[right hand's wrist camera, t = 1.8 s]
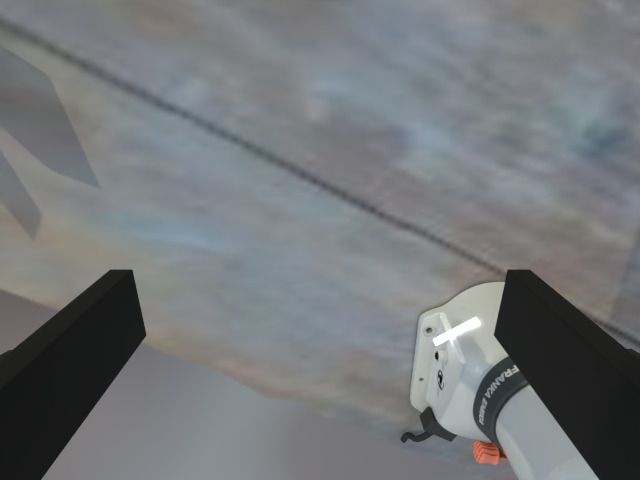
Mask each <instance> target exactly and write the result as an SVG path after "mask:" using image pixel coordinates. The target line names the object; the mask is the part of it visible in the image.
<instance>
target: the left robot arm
mask: <svg viewBox="0 0 640 480" xmlns="http://www.w3.org/2000/svg"><path fill="white" fill-rule="evenodd" d="M504 285H505V282H489V283H484V284H480V285H477V286H474V287H471V288H469V289H467V290H465V291H463V292H462V293H460V294H458V295H457V296H456V297H454V298H453V299H452V300H450V301H449V302H448V303H446V304H445V305H443V306H440V307H437V308H434V309H431V310H429V311H426V312H425V313H423V314H422V315H421V316H420V318H419V322H418V331H417V339H416V347H415V356H414V364H413V372H412V380H411V389H410V401H411V404H412V405H413V406H414V407H415V408H416V409H417V410H419V411H421V412H422V414H421V415H420V419H421V422H422V425H423V428H424V431H426V432H425V433H423V434H421V435H418V436H415V435H413V434H412V433H405V434H404V435H403V436H402V438H401V441H402V442H403V443H405V442H406V440H407V439H408V438H409V439H411V440H412V441H415V442H420V441H423V440H425V439H427V438H429V437H430V436H432V435H433V434H434V435H436V436H439V437H441V438H444V439H446V440H448V441H452V440H453V439H454V438H455V437H456V436H457V435H459V436H462V437H466V438H470V439H476V440H483V441H491V442H492V443H485V442H482V441H476V442H475V443H474V447H473V450H474V455H475V459H476V461H477V462H479V463H491V464H493V465H497V464H498V463H499V460H500V459H502V460H509V462H510V464H511V466H512V468H513V470H514V472H515V474H516V476H517V478H518V480H599V479H598V478H597V476H596V475H595V473H594V472H593V471H592V469H591V468H590V467H589V465H588V464H587V462H586V461H585V460H584V458H583V457H582V456H581V454H580V453H579V452H578V450H577V449H576V447H575V446H574V445H573V443H572V442H571V441H570V439H569V438H568V436H567V435H566V434H565V432H564V431H563V430H562V428H561V427H560V426H559V424H558V423H557V421H556V420H555V419H554V417H553V416H552V415H551V413H550V412H549V410H548V409H547V408H546V406H545V405H544V404H543V402H542V401H541V399H540V398H539V397H538V395H537V394H536V393H535V391H534V390H533V389H532V387H531V386H530V384H529V383H528V382H527V380H526V379H525V378H524V376H523V375H522V373H521V372H520V371H519V369H518V368H517V367H516V365H515V364H514V362H513V361H512V360H511V358H510V357H509V356H508V354H507V353H506V352H505V350H504V349H503V347H502V346H501V345H500V343H499V342H498V341H497V339H496V338H495V336H494V331H495V326H496V322H497V317H498V312H499V308H500V303H501V299H502V294H503V289H504ZM427 328H431V329H429V330H426V329H427Z"/></svg>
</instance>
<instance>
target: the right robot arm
mask: <svg viewBox="0 0 640 480" xmlns="http://www.w3.org/2000/svg"><path fill="white" fill-rule="evenodd" d="M145 336H146V331H145V326H144V322H143V317H142V312H141V308H140V303H139V299H138V294H137V289H136V285H135V280H134V275H133V271H132V270H109V271H108V272H107V273H106V274H105V275H103V276H102V277H101V278H100V279H98V280H97V281H96V282H95V283H94V284H92V285H91V286H90V287H89V288H87V289H86V290H85V291H84V292H83V293H81V294H80V295H79V296H78V297H77V298H75V299H74V300H73V301H72V302H70V303H69V304H68V305H67V306H66V307H64V308H63V309H62V310H61V311H60V312H58V313H57V314H56V315H55V316H53V317H52V318H51V319H50V320H49V321H47V322H46V323H45V324H44V325H42V326H41V327H40V328H39V329H38V330H36V331H35V332H34V333H33V334H32V335H30V336H29V337H28V338H27V339H25V340H24V341H23V342H22V343H21V344H19V345H18V346H17V347H16V348H14V349H13V350H9V351H7V352H5V353H3V354H2V355H0V480H41V479H42V478H43V476H44V475H45V473H46V472H47V471H48V469H49V468H50V467H51V465H52V464H53V462H54V461H55V460H56V458H57V457H58V456H59V454H60V453H61V452H62V450H63V449H64V447H65V446H66V445H67V443H68V442H69V441H70V439H71V438H72V436H73V435H74V434H75V432H76V431H77V430H78V428H79V427H80V425H81V424H82V423H83V421H84V420H85V419H86V417H87V416H88V414H89V413H90V412H91V410H92V409H93V408H94V406H95V405H96V404H97V402H98V401H99V399H100V398H101V397H102V395H103V394H104V393H105V391H106V390H107V388H108V387H109V386H110V384H111V383H112V382H113V380H114V379H115V378H116V376H117V375H118V373H119V372H120V371H121V369H122V368H123V367H124V365H125V364H126V362H127V361H128V360H129V358H130V357H131V356H132V354H133V353H134V351H135V350H136V349H137V347H138V346H139V345H140V343H141V342H142V341H143V339H144V338H145ZM494 336H495V338H496V339H497V341H498V342H499V343H500V345H501V346H502V347H503V349H504V350H505V352H506V353H507V354H508V356H509V357H510V358H511V360H512V361H513V362H514V364H515V365H516V367H517V368H518V369H519V371H520V372H521V373H522V375H523V376H524V378H525V379H526V380H527V382H528V383H529V384H530V386H531V387H532V389H533V390H534V391H535V393H536V394H537V395H538V397H539V398H540V399H541V401H542V402H543V404H544V405H545V406H546V408H547V409H548V410H549V412H550V413H551V415H552V416H553V417H554V419H555V420H556V421H557V423H558V424H559V426H560V427H561V428H562V430H563V431H564V432H565V434H566V435H567V436H568V438H569V439H570V441H571V442H572V443H573V445H574V446H575V447H576V449H577V450H578V452H579V453H580V454H581V456H582V457H583V458H584V460H585V461H586V462H587V464H588V465H589V467H590V468H591V469H592V471H593V472H594V473H595V475H596V476H597V478H598V479H599V480H640V353H638V352H636V351H634V350H632V349H626V348H624V347H623V346H622V345H621V344H619V343H618V342H617V341H616V340H615V339H613V338H612V337H611V336H610V335H608V334H607V333H606V332H605V331H604V330H602V329H601V328H600V327H599V326H598V325H596V324H595V323H594V322H593V321H591V320H590V319H589V318H588V317H587V316H585V315H584V314H583V313H582V312H580V311H579V310H578V309H577V308H576V307H574V306H573V305H572V304H571V303H570V302H568V301H567V300H566V299H565V298H563V297H562V296H561V295H560V294H559V293H557V292H556V291H555V290H554V289H553V288H551V287H550V286H549V285H548V284H546V283H545V282H544V281H543V280H542V279H540V278H539V277H538V276H537V275H535V274H534V273H533V272H532V271H531V270H508V271H507V275H506V280H505V285H504V289H503V294H502V299H501V303H500V308H499V312H498V317H497V322H496V326H495V331H494Z"/></svg>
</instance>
